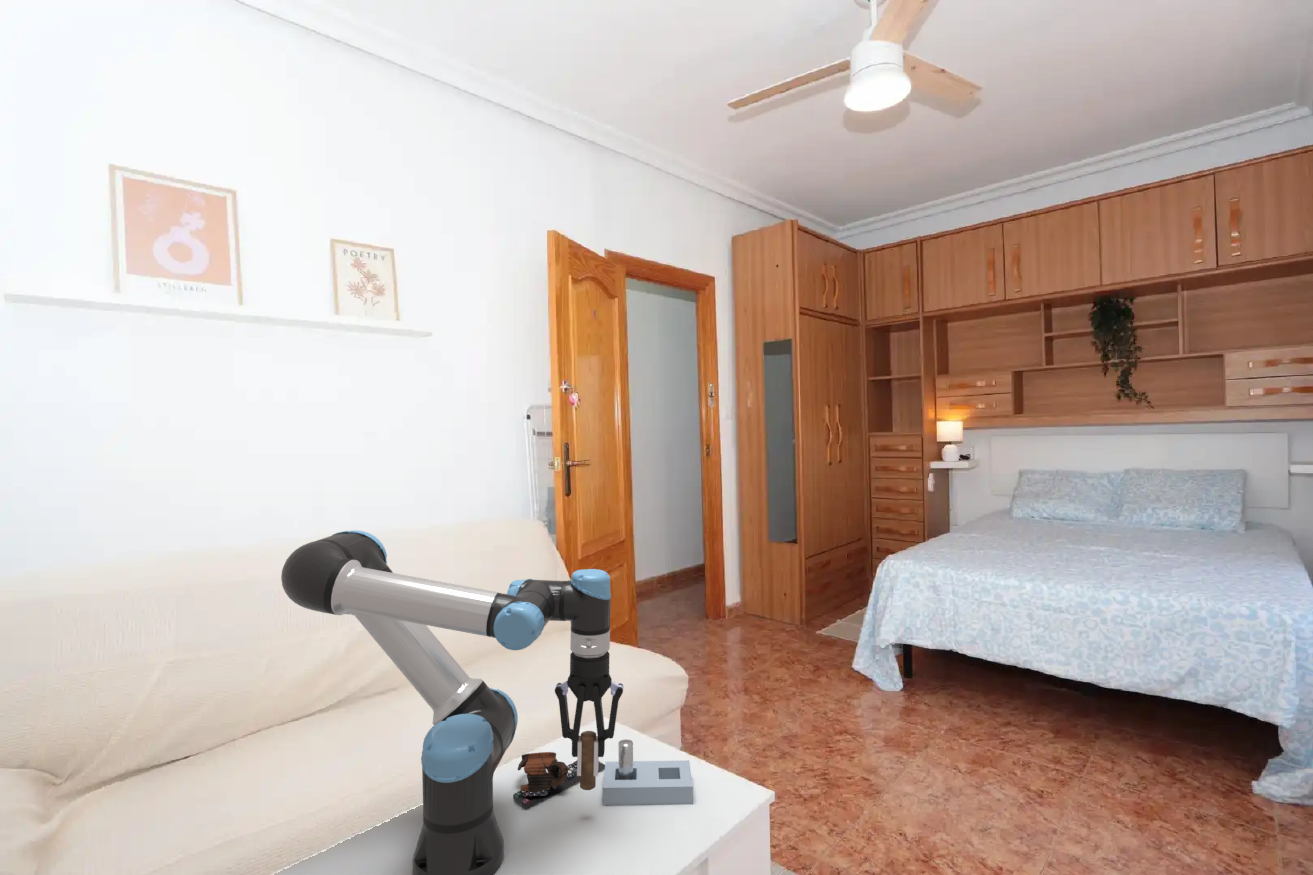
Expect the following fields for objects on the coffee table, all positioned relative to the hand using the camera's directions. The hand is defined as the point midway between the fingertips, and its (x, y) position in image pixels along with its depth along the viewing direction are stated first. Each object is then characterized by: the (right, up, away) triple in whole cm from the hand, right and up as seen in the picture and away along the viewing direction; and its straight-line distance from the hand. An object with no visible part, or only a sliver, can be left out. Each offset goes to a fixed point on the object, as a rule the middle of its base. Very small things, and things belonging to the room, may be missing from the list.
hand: (587, 771), depth 126 cm
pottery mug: (-10, -9, +11) cm, 18 cm away
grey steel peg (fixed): (+7, -9, +9) cm, 14 cm away
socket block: (+11, -9, +9) cm, 17 cm away
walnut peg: (0, -3, 0) cm, 3 cm away
